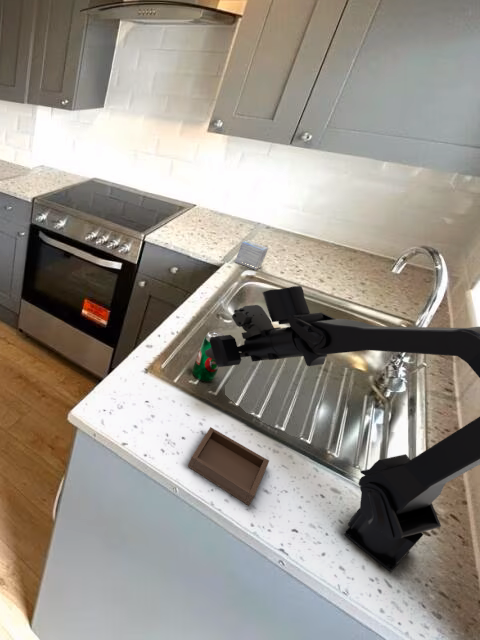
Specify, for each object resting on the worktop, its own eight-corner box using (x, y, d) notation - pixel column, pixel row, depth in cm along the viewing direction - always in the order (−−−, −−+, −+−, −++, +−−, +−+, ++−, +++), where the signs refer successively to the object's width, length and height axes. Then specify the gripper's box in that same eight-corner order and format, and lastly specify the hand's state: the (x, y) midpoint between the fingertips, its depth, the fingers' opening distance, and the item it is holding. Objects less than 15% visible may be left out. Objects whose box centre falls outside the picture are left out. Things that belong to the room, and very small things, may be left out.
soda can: (194, 366, 108) (208, 327, 103) (215, 375, 106) (232, 336, 100) (188, 376, 105) (203, 336, 99) (211, 386, 102) (227, 346, 97)
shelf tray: (264, 469, 82) (269, 460, 81) (249, 505, 75) (254, 496, 74) (206, 435, 88) (210, 426, 87) (187, 466, 82) (191, 456, 80)
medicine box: (260, 267, 163) (269, 247, 159) (255, 270, 161) (263, 249, 157) (239, 259, 169) (247, 239, 165) (234, 261, 167) (241, 241, 163)
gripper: (305, 299, 89) (244, 313, 103) (231, 306, 84) (178, 320, 99) (324, 353, 86) (259, 360, 100) (249, 364, 81) (192, 369, 96)
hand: (222, 351), depth 99 cm, fingers open, 9 cm apart
